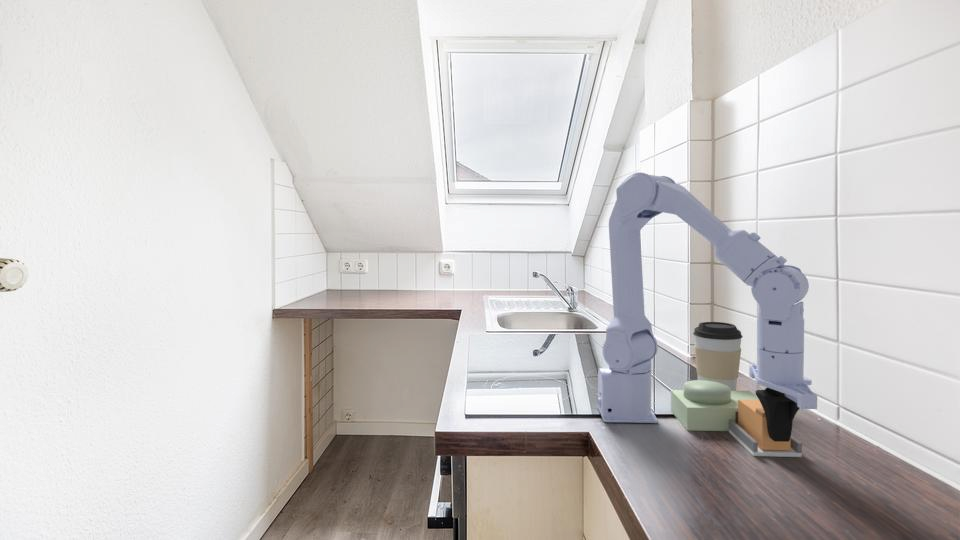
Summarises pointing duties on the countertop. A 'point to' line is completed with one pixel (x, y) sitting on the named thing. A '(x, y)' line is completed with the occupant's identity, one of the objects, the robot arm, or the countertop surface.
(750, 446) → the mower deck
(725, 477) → the countertop surface
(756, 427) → the orange stepped block
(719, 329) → the coffee cup
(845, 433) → the countertop surface
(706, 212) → the robot arm
